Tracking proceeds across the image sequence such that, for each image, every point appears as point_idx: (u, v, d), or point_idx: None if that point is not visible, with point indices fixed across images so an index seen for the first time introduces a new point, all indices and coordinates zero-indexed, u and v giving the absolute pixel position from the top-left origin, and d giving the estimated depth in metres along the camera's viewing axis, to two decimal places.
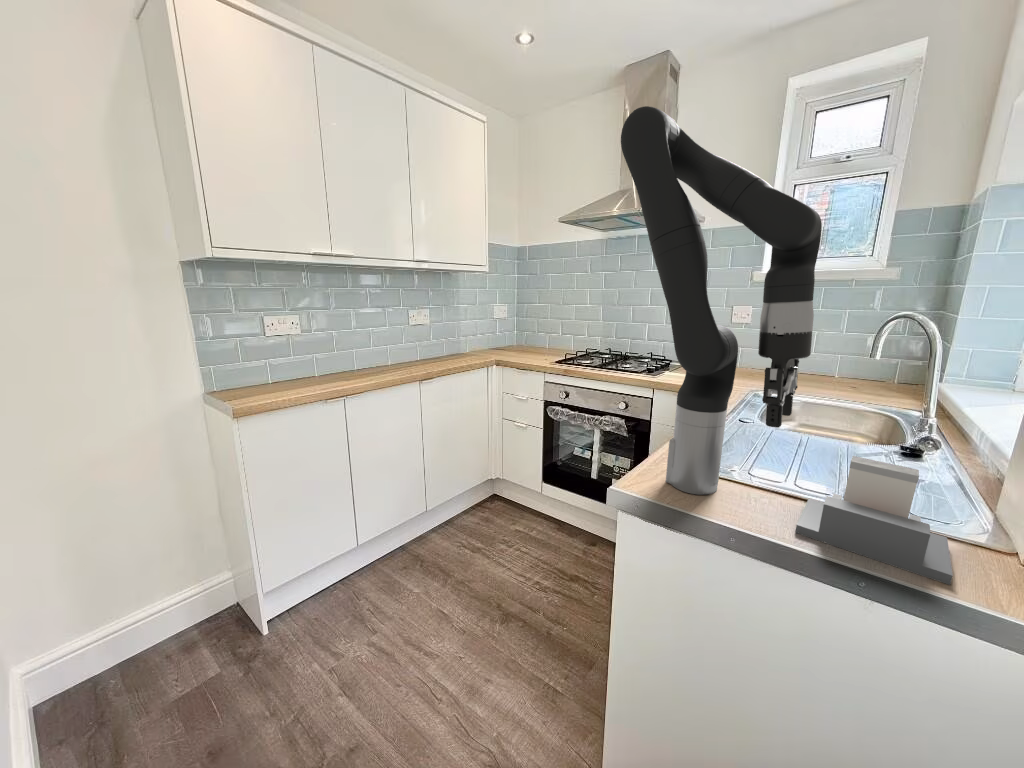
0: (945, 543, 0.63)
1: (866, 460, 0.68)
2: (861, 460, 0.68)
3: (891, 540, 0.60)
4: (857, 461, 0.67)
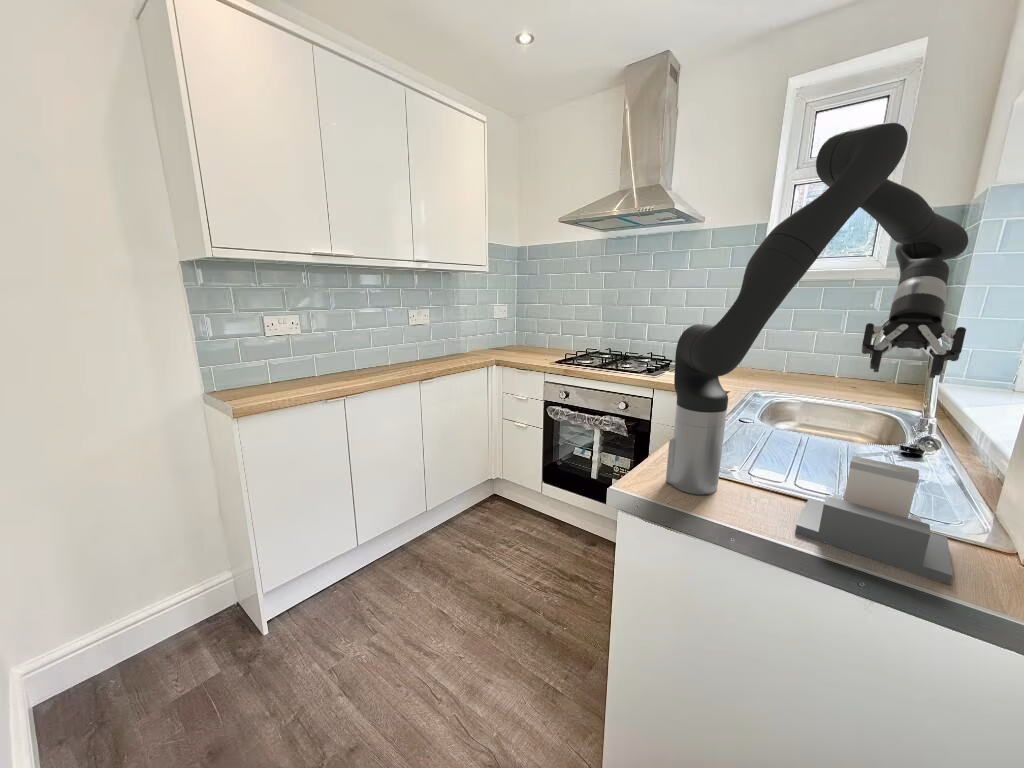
0: (945, 543, 0.63)
1: (866, 460, 0.68)
2: (861, 460, 0.68)
3: (891, 540, 0.60)
4: (857, 461, 0.67)
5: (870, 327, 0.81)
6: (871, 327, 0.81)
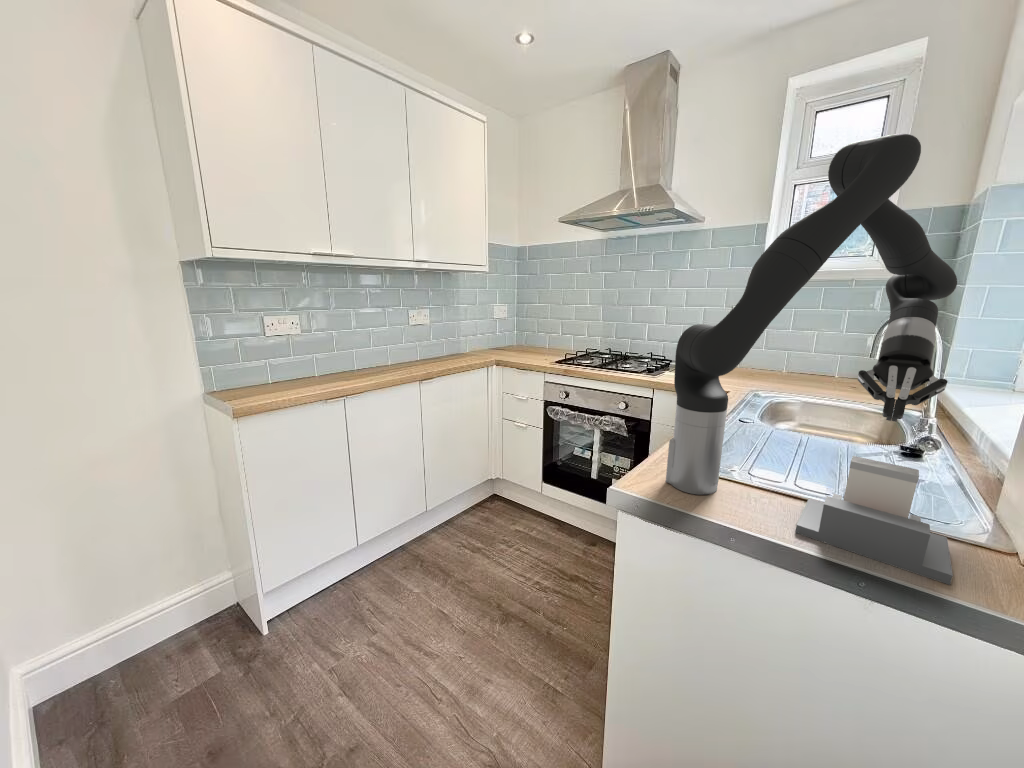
0: (945, 543, 0.63)
1: (866, 460, 0.68)
2: (861, 460, 0.68)
3: (891, 540, 0.60)
4: (857, 461, 0.67)
5: (865, 374, 0.80)
6: (865, 374, 0.80)
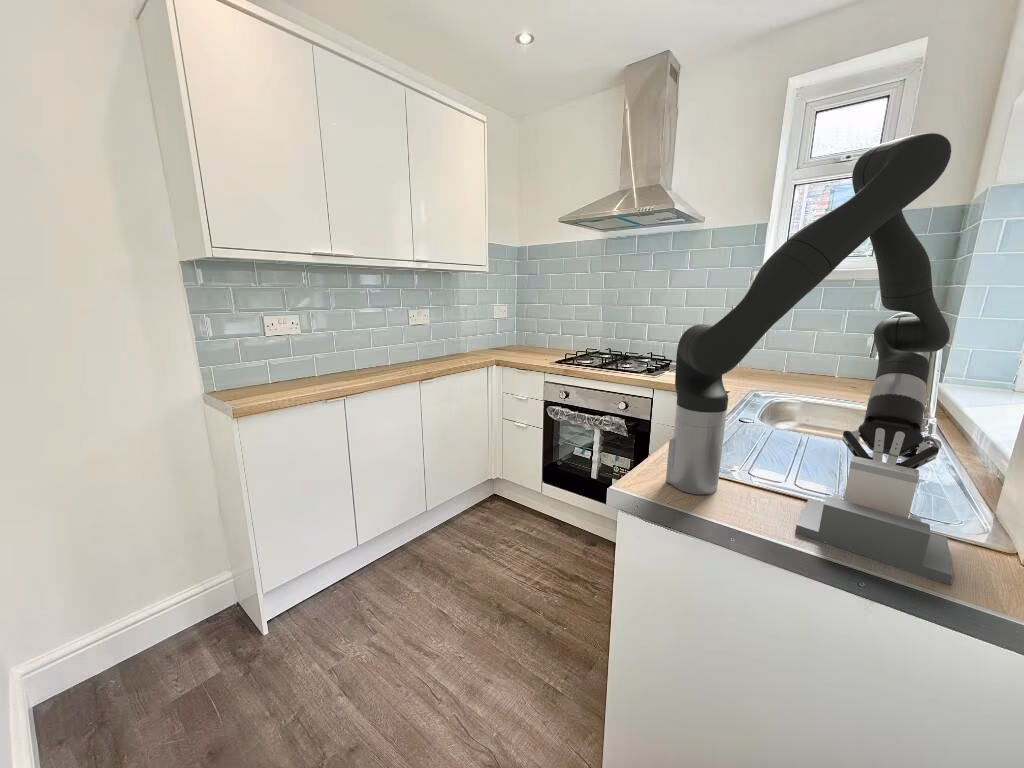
0: (945, 543, 0.63)
1: (866, 460, 0.68)
2: (861, 460, 0.68)
3: (891, 540, 0.60)
4: (857, 461, 0.67)
5: (849, 435, 0.74)
6: (850, 435, 0.74)
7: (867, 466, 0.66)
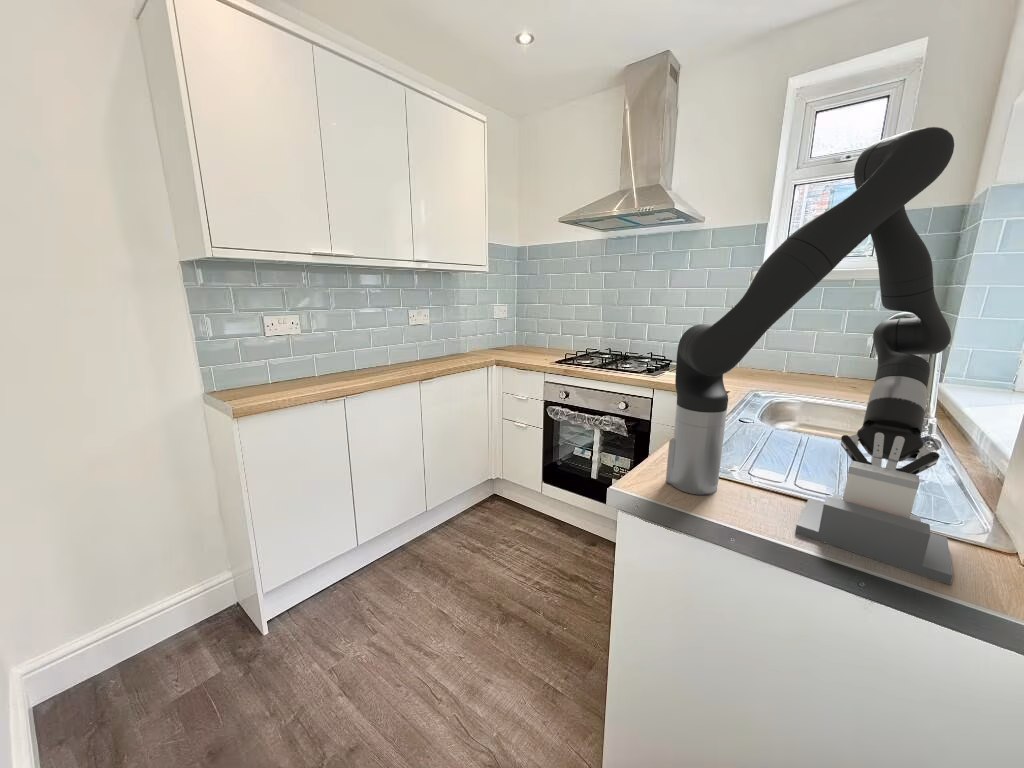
0: (945, 543, 0.63)
1: (865, 465, 0.66)
2: (859, 465, 0.66)
3: (891, 540, 0.60)
4: (856, 466, 0.65)
5: (848, 439, 0.72)
6: (849, 439, 0.72)
7: (866, 471, 0.64)
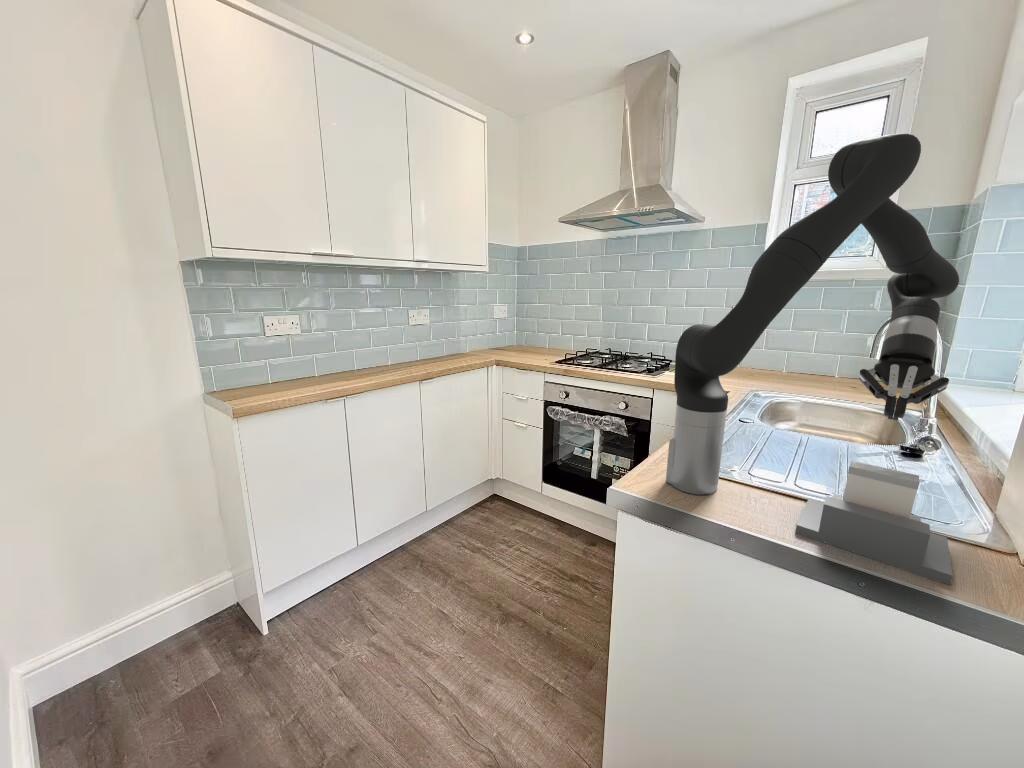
0: (945, 543, 0.63)
1: (865, 465, 0.66)
2: (859, 465, 0.66)
3: (891, 540, 0.60)
4: (856, 466, 0.65)
5: (866, 372, 0.80)
6: (867, 372, 0.80)
7: (866, 471, 0.64)
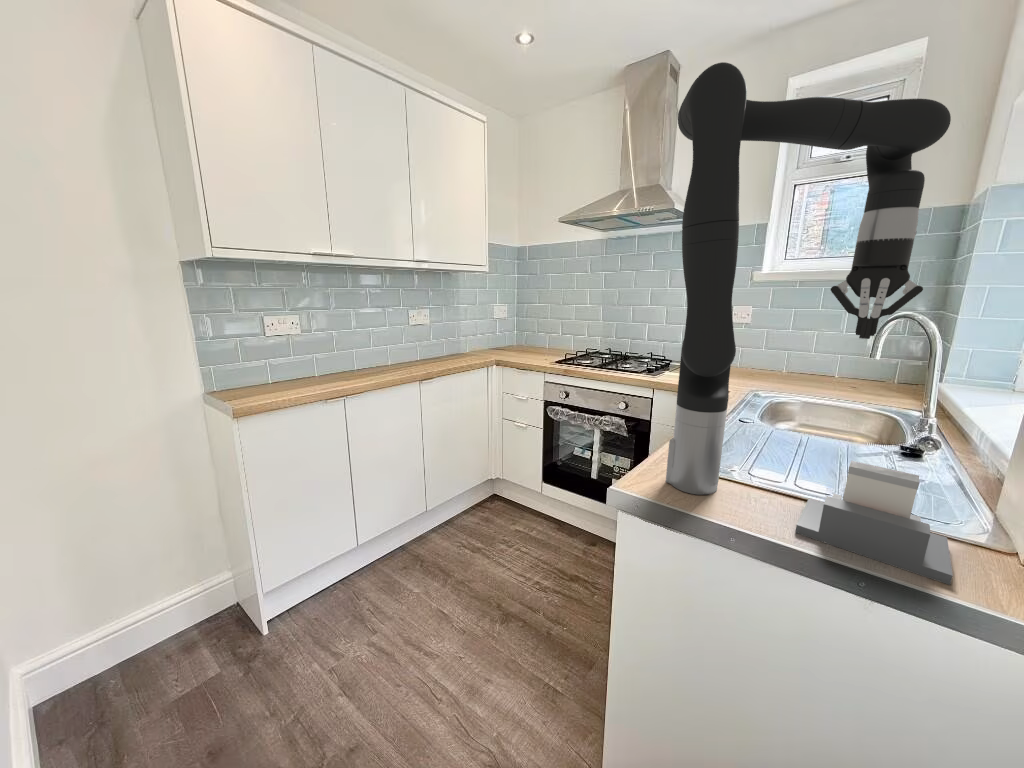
0: (945, 543, 0.63)
1: (865, 465, 0.66)
2: (859, 465, 0.66)
3: (891, 540, 0.60)
4: (856, 466, 0.65)
5: (837, 290, 0.75)
6: (838, 290, 0.75)
7: (866, 471, 0.64)
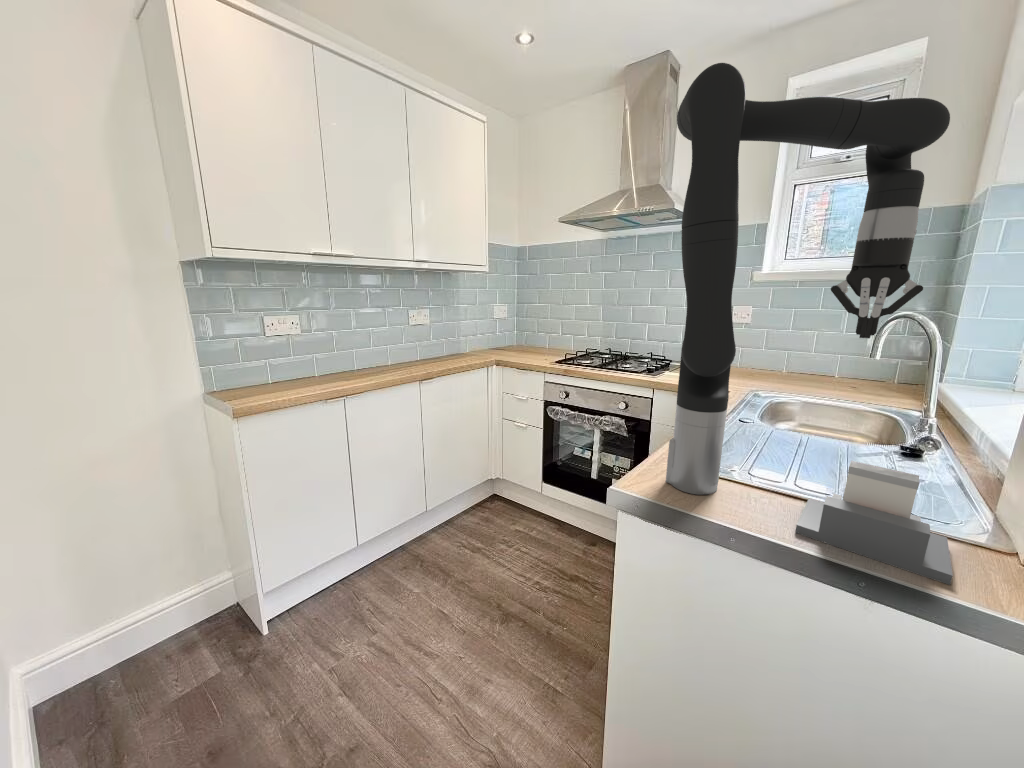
0: (945, 543, 0.63)
1: (865, 465, 0.66)
2: (859, 465, 0.66)
3: (891, 540, 0.60)
4: (856, 466, 0.65)
5: (837, 290, 0.75)
6: (838, 290, 0.75)
7: (866, 471, 0.64)
